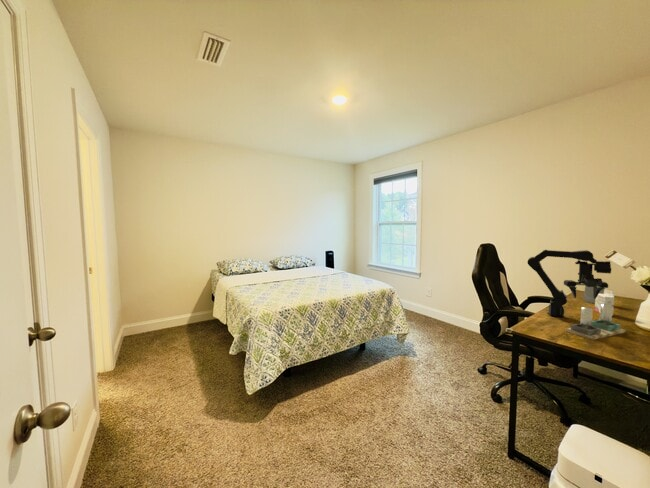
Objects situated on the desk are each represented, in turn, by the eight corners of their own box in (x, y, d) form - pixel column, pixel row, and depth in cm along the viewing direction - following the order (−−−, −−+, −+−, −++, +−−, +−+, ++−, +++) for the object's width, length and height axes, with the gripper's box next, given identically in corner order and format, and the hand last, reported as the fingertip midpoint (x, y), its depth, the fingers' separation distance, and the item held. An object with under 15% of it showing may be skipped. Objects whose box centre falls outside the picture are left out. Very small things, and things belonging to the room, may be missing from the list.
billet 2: (598, 327, 152) (600, 304, 150) (599, 325, 154) (601, 303, 153) (609, 329, 148) (612, 306, 147) (611, 327, 151) (613, 305, 150)
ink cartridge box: (593, 311, 182) (595, 288, 181) (602, 311, 181) (604, 289, 180) (604, 315, 174) (605, 292, 172) (613, 315, 173) (615, 292, 171)
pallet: (592, 339, 139) (593, 332, 139) (565, 330, 150) (565, 324, 150) (625, 332, 147) (626, 325, 147) (597, 324, 159) (597, 318, 158)
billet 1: (582, 332, 145) (583, 308, 144) (578, 329, 149) (579, 306, 148) (593, 333, 143) (594, 309, 142) (588, 330, 147) (589, 307, 146)
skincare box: (582, 301, 203) (584, 279, 202) (589, 300, 205) (591, 279, 204) (597, 304, 195) (598, 282, 194) (604, 303, 197) (605, 281, 196)
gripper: (572, 273, 160) (571, 300, 161) (614, 275, 153) (613, 303, 154) (563, 270, 170) (562, 296, 171) (602, 271, 164) (601, 297, 165)
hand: (584, 298), depth 165 cm, fingers open, 9 cm apart
